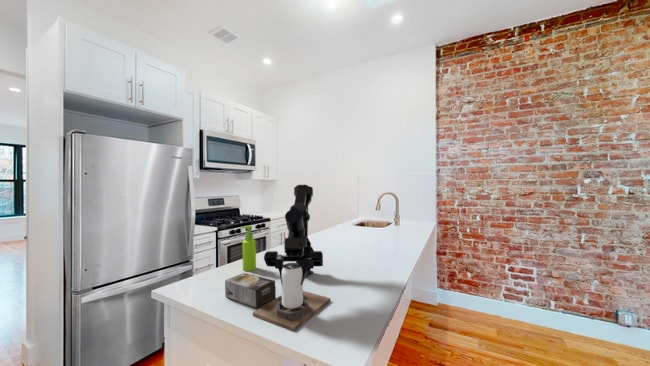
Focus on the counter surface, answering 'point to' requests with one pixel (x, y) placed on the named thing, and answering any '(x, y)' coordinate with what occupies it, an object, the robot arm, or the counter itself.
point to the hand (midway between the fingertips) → (291, 284)
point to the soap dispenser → (249, 250)
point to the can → (292, 285)
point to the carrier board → (291, 311)
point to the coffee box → (250, 289)
